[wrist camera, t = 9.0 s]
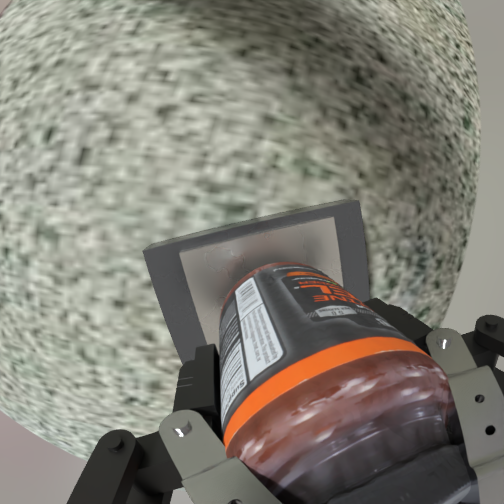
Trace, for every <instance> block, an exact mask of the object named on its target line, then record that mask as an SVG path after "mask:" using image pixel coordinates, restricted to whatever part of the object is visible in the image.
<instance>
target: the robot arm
mask: <svg viewBox="0 0 504 504" xmlns="http://www.w3.org/2000/svg"><path fill="white" fill-rule="evenodd" d="M362 303H364V304H365V305H367V306H368V307H369V308H371V309H372V310H373V311H374V312H375V313H376V314H378V315H380V316H381V317H382V318H384V319H385V320H386V321H387V322H388V323H389V324H391V325H392V326H393V327H394V328H396V329H397V330H398V331H400V332H402V333H403V334H404V335H405V336H406V337H407V338H408V339H410V340H412V341H413V342H414V343H415V344H416V345H417V346H418V347H419V348H420V349H421V350H423V351H424V352H425V353H426V354H427V355H429V356H430V357H431V358H432V359H433V360H434V361H435V362H436V363H438V364H439V365H440V367H441V368H442V369H443V370H444V372H445V373H446V374H447V377H448V378H449V380H448V388H449V395H448V405H447V410H446V414H447V415H448V419H449V420H448V425H447V429H446V431H447V434H448V437H449V441H450V443H451V444H452V445H457V446H458V447H459V452H460V454H461V456H462V458H463V461H464V464H465V466H466V468H467V472H468V475H469V478H470V481H471V488H470V491H469V492H468V494H467V495H466V496H465V497H464V498H463V499H462V500H461V501H460V502H459V503H457V504H504V372H503V371H501V370H499V369H497V368H496V367H495V366H496V363H497V360H498V357H499V355H500V356H502V357H504V319H503V318H501V317H499V316H495V315H485V316H482V317H480V318H479V319H478V320H477V321H476V325H475V330H474V331H472V332H469V333H466V334H463V335H460V334H459V333H458V332H457V331H455V330H453V329H449V328H440V329H436V330H433V329H431V328H430V327H429V326H427V325H426V324H424V323H423V322H421V321H420V320H418V319H417V318H414V316H412V315H411V314H408V312H406V311H405V310H403V309H402V308H400V307H397V306H394V305H390V304H389V305H387V304H386V303H384V302H383V301H381V300H380V299H378V298H373V299H371V300H368V301H365V302H362ZM219 361H220V360H219V353H218V350H217V347H216V345H215V343H213V344H208V345H203V346H198V347H196V351H195V359H194V360H190V361H186V362H185V363H184V365H183V366H182V367H181V369H180V371H179V377H178V382H177V388H176V394H175V400H174V406H173V413H172V414H170V415H168V416H167V417H166V418H164V419H163V421H162V422H161V424H160V426H159V431H157V432H155V433H152V434H149V435H145V436H142V437H138V438H135V437H134V435H133V434H132V433H131V432H129V431H127V430H122V429H119V430H113V431H110V432H108V433H106V434H105V435H104V436H102V437H101V439H100V440H99V441H98V443H97V445H96V447H95V449H94V451H93V453H92V454H91V456H90V458H89V460H88V462H87V464H86V466H85V468H84V470H83V472H82V474H81V476H80V478H79V480H78V482H77V484H76V486H75V488H74V490H73V492H72V494H71V496H70V498H69V500H68V502H67V504H170V501H171V497H172V493H173V490H175V489H178V488H181V487H184V488H185V490H186V492H187V493H188V495H189V497H190V498H191V500H192V502H193V503H194V504H282V503H281V502H280V501H279V500H278V499H277V498H276V497H275V496H274V495H273V494H272V493H271V492H270V491H269V490H268V489H267V488H266V487H265V486H264V485H263V484H262V483H261V482H260V481H259V480H258V479H257V478H256V477H255V476H254V475H253V474H252V473H251V472H250V471H249V470H248V468H247V467H246V466H245V465H244V464H243V463H242V462H241V461H240V460H239V459H238V458H237V457H236V456H232V457H230V458H228V459H227V456H226V451H225V446H224V445H223V442H222V424H221V398H220V363H219Z"/></svg>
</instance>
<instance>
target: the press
mask: <svg viewBox="0 0 504 504" xmlns="http://www.w3.org/2000/svg"><path fill="white" fill-rule="evenodd" d="M143 254H144V257H145V261H146V264H147V267H148V271H149V274H150V277H151V280H152V283H153V287H154V290H155V293H156V296H157V299H158V301H159V304H160V307H161V310H162V313H163V316H164V318H165V321H166V324H167V327H168V329H169V332H170V334H171V337H172V340H173V342H174V345H175V347H176V350H177V352H178V355H179V357H180V359H181V362H182V364H183V365H184V363H185V362H186V361H190V360H194V359H195V351H196V347H198V346H203V345H208V344H213V343H215V345H216V347H217V350H218V353H219V323H220V314H221V310H222V306H223V304H224V301H225V299H226V297H227V295H228V294H229V292H230V291H231V289H232V288H233V287H234V286H235V285H236V284H237V283H238V281H240V280H241V279H242V278H243V277H244V276H246V275H247V274H248V273H250V272H252V271H253V270H254V269H257V268H259V267H261V266H263V265H266V264H273V263H277V262H296V263H301V264H305V265H309V266H311V267H313V268H315V269H317V270H320V271H322V272H323V273H324V274H326V275H328V277H330V278H331V279H333V280H334V281H335V282H337V283H338V284H340V285H341V286H342V287H343V288H345V289H346V290H347V291H349V292H350V293H351V294H353V295H354V296H355V297H356V298H357V299H358V300H360V301H361V302H365V301H368V300H370V293H369V278H368V266H367V255H366V246H365V237H364V229H363V222H362V215H361V208H360V202H359V200H339V201H334V202H329V203H324V204H319V205H314V206H310V207H305V208H300V209H296V210H291V211H286V212H282V213H277V214H273V215H268V216H264V217H259V218H255V219H251V220H246V221H242V222H238V223H233V224H229V225H225V226H221V227H217V228H212V229H208V230H204V231H200V232H196V233H192V234H188V235H184V236H180V237H176V238H172V239H169V240H165V241H161V242H157V243H153V244H151V245H149V246H148V247H147V248H145V249H144V250H143Z"/></svg>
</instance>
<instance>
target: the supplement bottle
mask: <svg viewBox="0 0 504 504" xmlns="http://www.w3.org/2000/svg"><path fill="white" fill-rule="evenodd" d="M219 360H220V361H219V363H220V398H221V424H222V442H223V445H224V446H225V451H226V456H227V459H228V458H230V457H232V456H236V457H237V458H238V459H239V460H240V461H241V462H242V463H243V464H244V465H245V466H246V467H247V468H248V470H249V471H250V472H251V473H252V474H253V475H254V476H255V477H256V478H257V479H258V480H259V481H260V482H261V483H262V484H263V485H264V486H265V487H266V488H267V489H268V490H269V491H270V492H271V493H272V494H273V495H274V496H275V497H276V498H277V499H278V500H279V501H280V502H281V503H282V504H457V503H459V502H460V501H461V500H462V499H463V498H464V497H465V496H466V495H467V494H468V492H469V491H470V488H471V481H470V478H469V475H468V472H467V468H466V466H465V464H464V461H463V458H462V456H461V454H460V452H459V447H458V446H457V445H452V444H451V443H450V441H449V437H448V434H447V431H446V429H447V425H448V420H449V419H448V415H447V414H446V410H447V405H448V395H449V388H448V380H449V378H448V377H447V374H446V373H445V372H444V370H443V369H442V368H441V367H440V365H439V364H438V363H436V362H435V361H434V360H433V359H432V358H431V357H430V356H429V355H427V354H426V353H425V352H424V351H423V350H421V349H420V348H419V347H418V346H417V345H416V344H415V343H414V342H413V341H412V340H410V339H408V338H407V337H406V336H405V335H404V334H403V333H402V332H400V331H398V330H397V329H396V328H394V327H393V326H392V325H391V324H389V323H388V322H387V321H386V320H385V319H384V318H382V317H381V316H380V315H378V314H376V313H375V312H374V311H373V310H372V309H371V308H369V307H368V306H367V305H365V304H364V303H362V302H361V301H360V300H358V299H357V298H356V297H355V296H354V295H353V294H351V293H350V292H349V291H347V290H346V289H345V288H343V287H342V286H341V285H340V284H338V283H337V282H335V281H334V280H333V279H331V278H330V277H328V275H326V274H324V273H323V272H322V271H320V270H317V269H315V268H313V267H311V266H309V265H305V264H301V263H296V262H277V263H273V264H266V265H263V266H261V267H259V268H257V269H254V270H253V271H252V272H250V273H248V274H247V275H246V276H244V277H243V278H242V279H241V280H240V281H238V283H237V284H236V285H235V286H234V287H233V288H232V289H231V291H230V292H229V294H228V295H227V297H226V299H225V301H224V304H223V306H222V310H221V314H220V323H219Z"/></svg>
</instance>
